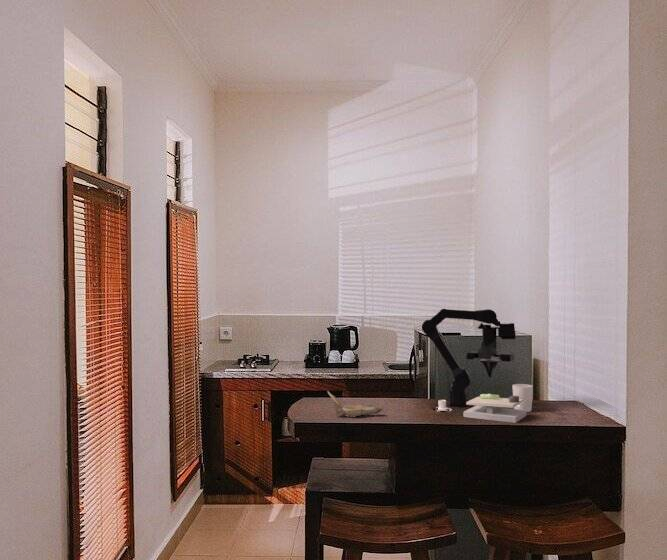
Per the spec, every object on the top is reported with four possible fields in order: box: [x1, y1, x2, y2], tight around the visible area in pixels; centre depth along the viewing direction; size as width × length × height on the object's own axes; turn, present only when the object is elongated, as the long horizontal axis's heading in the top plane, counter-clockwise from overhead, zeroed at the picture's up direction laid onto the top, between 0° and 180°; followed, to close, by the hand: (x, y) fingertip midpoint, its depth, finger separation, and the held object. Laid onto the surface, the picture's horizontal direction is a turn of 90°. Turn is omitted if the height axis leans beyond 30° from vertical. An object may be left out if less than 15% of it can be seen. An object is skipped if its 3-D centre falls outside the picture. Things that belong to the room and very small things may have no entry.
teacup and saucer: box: [437, 399, 453, 412], centre depth 250 cm, size 9×8×4 cm
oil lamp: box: [327, 390, 383, 417], centre depth 241 cm, size 9×21×10 cm, turn 91°
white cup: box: [511, 383, 534, 413], centre depth 247 cm, size 8×8×10 cm
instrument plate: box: [466, 393, 523, 409], centre depth 237 cm, size 18×13×3 cm
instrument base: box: [462, 405, 528, 424], centre depth 237 cm, size 20×14×4 cm
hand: (490, 377), depth 256 cm, fingers closed
